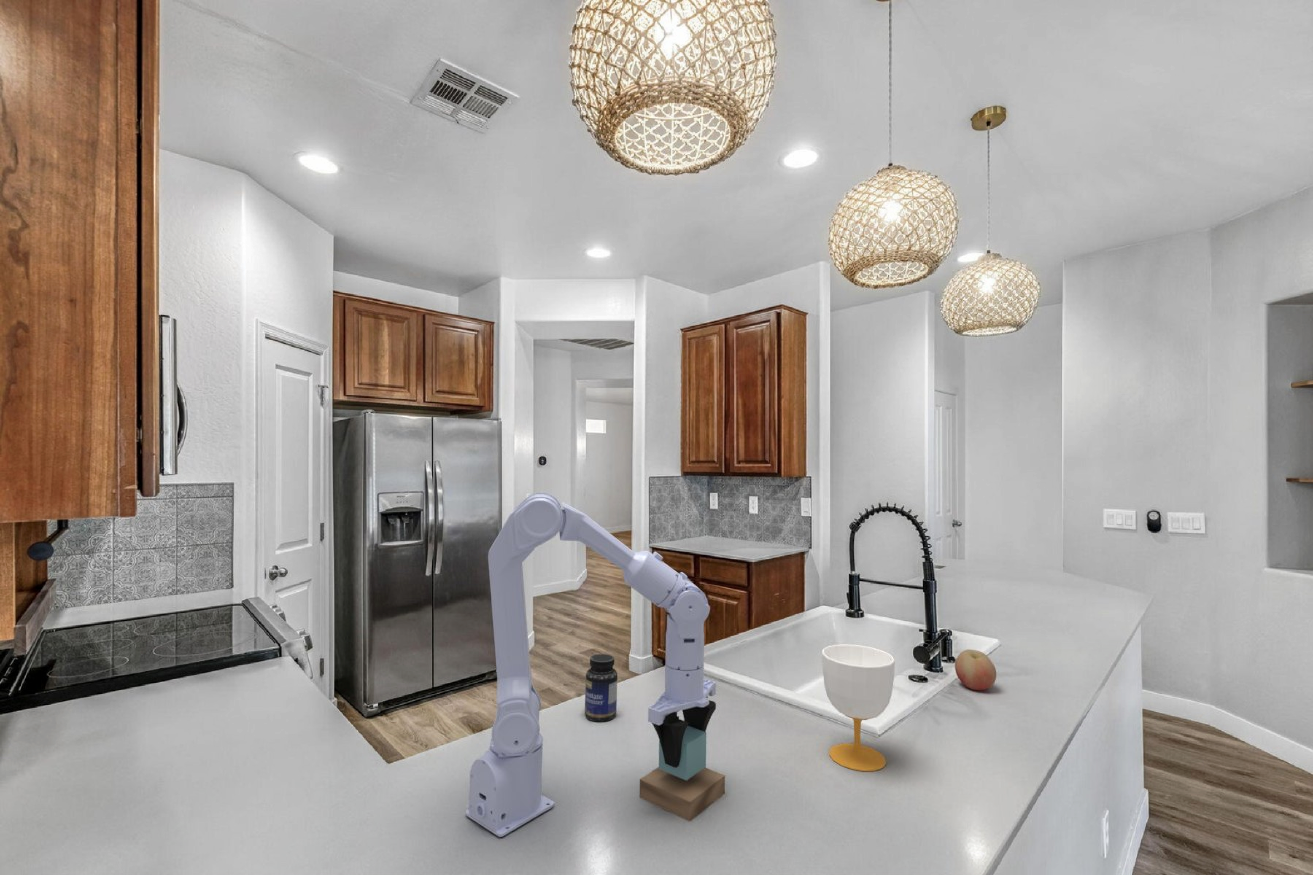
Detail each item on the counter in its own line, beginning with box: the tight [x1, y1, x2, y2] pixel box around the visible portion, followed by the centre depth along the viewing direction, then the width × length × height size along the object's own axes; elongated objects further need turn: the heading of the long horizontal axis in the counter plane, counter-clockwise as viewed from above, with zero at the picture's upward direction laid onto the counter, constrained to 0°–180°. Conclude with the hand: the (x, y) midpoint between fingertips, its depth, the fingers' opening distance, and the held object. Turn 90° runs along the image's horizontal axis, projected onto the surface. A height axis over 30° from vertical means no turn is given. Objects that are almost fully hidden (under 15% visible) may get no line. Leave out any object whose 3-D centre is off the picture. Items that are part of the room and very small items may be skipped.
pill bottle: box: [584, 653, 618, 722], centre depth 114 cm, size 6×6×11 cm
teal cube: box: [658, 726, 707, 781], centre depth 87 cm, size 5×5×5 cm
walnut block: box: [638, 766, 726, 822], centre depth 87 cm, size 9×9×3 cm
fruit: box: [954, 649, 997, 691], centre depth 132 cm, size 8×8×8 cm
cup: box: [821, 643, 896, 772], centre depth 99 cm, size 12×12×17 cm
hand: (683, 757), depth 87 cm, fingers closed on teal cube, 5 cm apart
